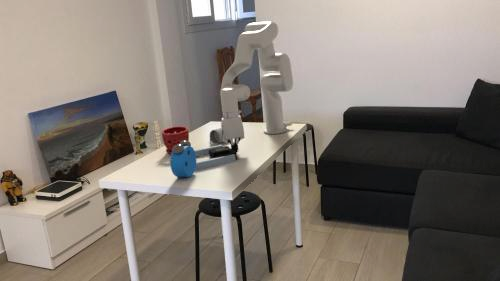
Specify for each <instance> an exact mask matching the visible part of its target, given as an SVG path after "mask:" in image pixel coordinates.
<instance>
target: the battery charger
mask: <svg viewBox="0 0 500 281" xmlns="http://www.w3.org/2000/svg"><path fill="white" fill-rule="evenodd" d="M232 154H235V158H236V161H237V160H238V152H237V153H236V152H235V151H234V150H232V149H231V146H228V145H226V146H223V147H220V148H215V149H210V150H209V154H208V156H209V159H213V158H218V157H223V156H227V155H232Z"/></svg>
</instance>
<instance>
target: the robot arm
mask: <svg viewBox="0 0 500 281" xmlns="http://www.w3.org/2000/svg"><path fill="white" fill-rule="evenodd" d="M278 35H279V27H278V25H277V23H276V22H274V21H259V22H251V23H248V24H246V25H245V27H244V32H242V33H240V34H239V36H238V38H237V43H236V48H235V49H236V50H235V56H234V61H233V63H232V64H231V65H230V67H229V68H228V69H227V70H226V72H225V73H224V75H223V77H222V80H221V85H220V92H219V93H220V103H221V104H220V105H221V111H222V118H221V121H220V128H221V135H222V138H223V142H222V143H227V144H230V148H231V149H232V150H234V151H235V152H236V153H237V154H238V152H239V144H240V141H241V140H243V139H245V129H244V125H243V121H242V117H241V115H240V114H242V110H240V109H239V104H238V103H239V102H242V101H243V102H244V101H246V100H248V99H249V98H250V95H251V88H250V87H249V86H247V85H246V84H233V82H234V80H235V78H236V77H237V76H239V74H241V73H243V72H244V71H246V70H248V69H250V68H251V67H252V65H253V59H254V52H255V50H257V54H258V60H259V66H260V68H261V71H263V72H266V74H264V75H262V76H261V78H260V81H259V82H260V83H259V84H260V88H261V91H262V96H263V106H264V116H265V117H264V118H265V126H266V128H264V130H263V132H264V134H266V135H279V134H283V133H286V132H287V131H288V129H287V127H290V126H292V125H293V123H292V122H291V121H289V122H287V121H286V122H285V121H284V114H283V113H284V112H283V101H282V99H283V98H282V97H281V95H280V93H284V92H285V93H286V92H290V91H291V90H292V89H293V86H294V80H293V79H294V78H293V71H292V64H291V60H290V57H289V55H288V54H287V53H285V52H275V51H276V50H275V46H274V43H273V41H274V40H275V39H277V37H278ZM269 72H270V73H269ZM274 72H275V73H274ZM278 72H279V73H278Z"/></svg>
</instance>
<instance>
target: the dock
mask: <svg viewBox="0 0 500 281" xmlns="http://www.w3.org/2000/svg"><path fill="white" fill-rule="evenodd" d="M220 147H224V146H223V145H222V144H217V145H214V146H208V147H204V148H200V149H199V148H198V149H194V151H195V155H196V158H198V157H202V156H207V155H208V156H209V150H210V149H215V148H220ZM234 162H237V160H236V158H235V154H232V155H227V156H223V157H218V158H213V159H212V158H209V159H204V160H200V161H198V160H197V159H196V167H195V170H202V169H206V168H211V167H216V166H220V165H225V164H229V163H234Z"/></svg>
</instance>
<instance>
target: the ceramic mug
mask: <svg viewBox="0 0 500 281" xmlns="http://www.w3.org/2000/svg"><path fill="white" fill-rule="evenodd" d="M209 141H210V142H211V143H212V144H214V145H220V144H221V143H224V142H223V138H222V135H221V127H219V128H216V129H212V130H211V131H210V132H209Z"/></svg>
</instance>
